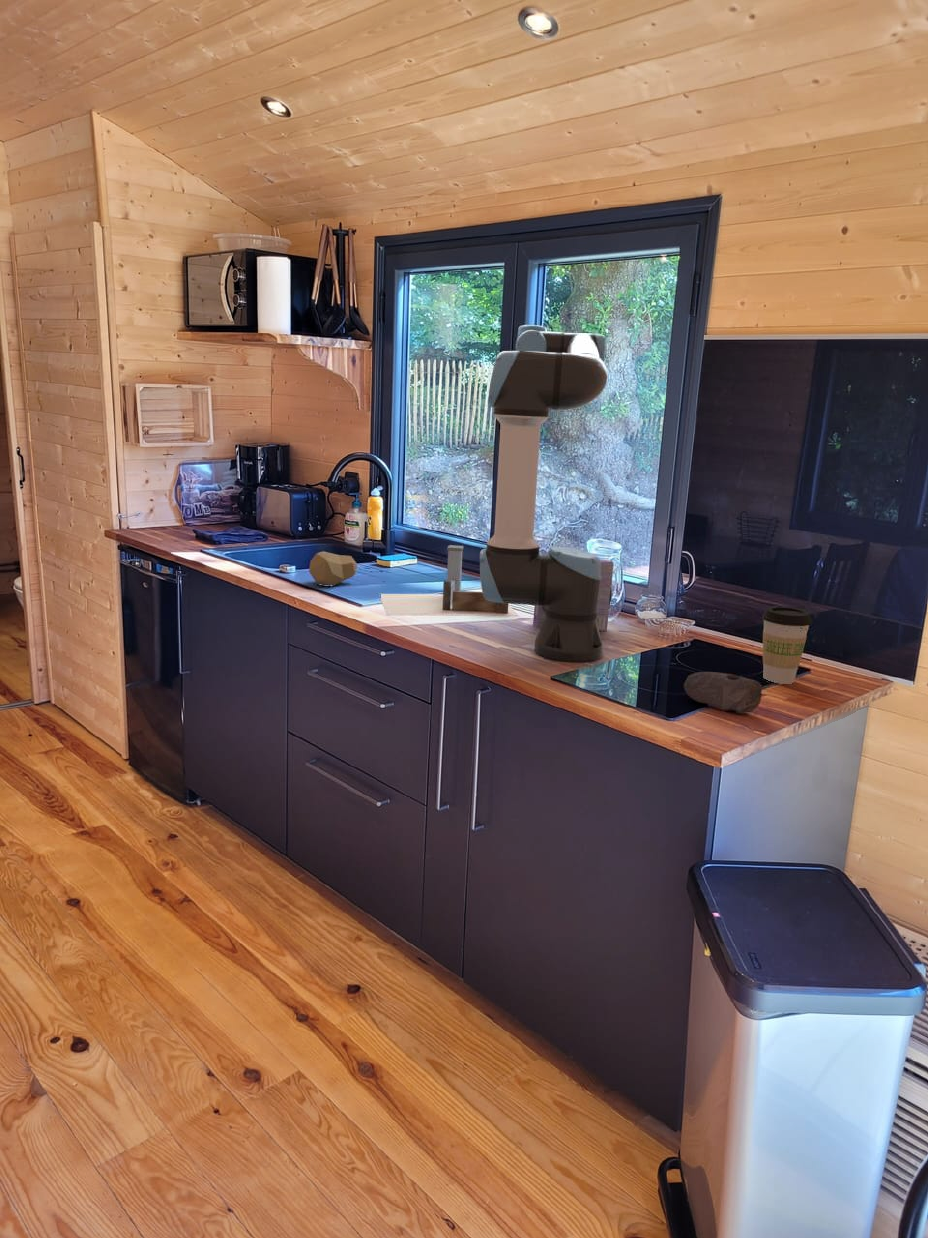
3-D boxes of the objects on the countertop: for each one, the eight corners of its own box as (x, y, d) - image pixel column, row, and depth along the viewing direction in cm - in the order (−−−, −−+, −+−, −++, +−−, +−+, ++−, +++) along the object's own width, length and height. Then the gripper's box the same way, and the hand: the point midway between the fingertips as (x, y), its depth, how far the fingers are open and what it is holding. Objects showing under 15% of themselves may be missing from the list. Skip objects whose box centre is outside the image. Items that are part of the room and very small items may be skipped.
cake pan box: (605, 626, 233) (611, 557, 228) (612, 631, 228) (618, 561, 224) (531, 626, 230) (536, 556, 225) (536, 631, 225) (541, 560, 221)
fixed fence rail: (442, 610, 238) (443, 580, 236) (442, 608, 241) (443, 578, 239) (507, 613, 238) (509, 583, 236) (507, 611, 241) (509, 581, 239)
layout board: (518, 617, 237) (518, 615, 237) (386, 617, 231) (386, 614, 231) (499, 596, 260) (499, 594, 260) (378, 595, 254) (379, 593, 254)
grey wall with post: (454, 607, 241) (456, 555, 238) (439, 606, 241) (441, 554, 238) (461, 595, 256) (463, 546, 253) (447, 594, 256) (449, 545, 253)
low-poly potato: (304, 590, 258) (338, 575, 254) (295, 554, 261) (328, 539, 256) (334, 595, 272) (366, 581, 268) (325, 561, 274) (357, 547, 270)
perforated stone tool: (676, 700, 179) (680, 666, 177) (690, 694, 182) (694, 661, 181) (748, 721, 169) (752, 685, 167) (761, 715, 173) (766, 679, 171)
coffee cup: (776, 689, 188) (786, 618, 185) (744, 675, 197) (752, 606, 193) (813, 685, 192) (823, 615, 188) (780, 671, 201) (789, 604, 197)
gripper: (549, 387, 236) (543, 480, 242) (536, 387, 248) (531, 476, 254) (521, 386, 235) (515, 479, 240) (509, 386, 247) (504, 475, 253)
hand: (523, 477), depth 247 cm, fingers closed
